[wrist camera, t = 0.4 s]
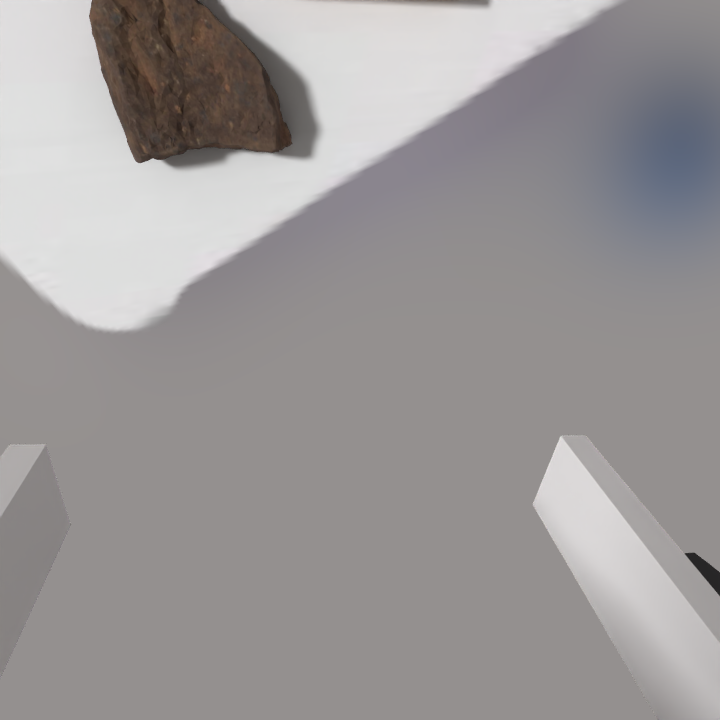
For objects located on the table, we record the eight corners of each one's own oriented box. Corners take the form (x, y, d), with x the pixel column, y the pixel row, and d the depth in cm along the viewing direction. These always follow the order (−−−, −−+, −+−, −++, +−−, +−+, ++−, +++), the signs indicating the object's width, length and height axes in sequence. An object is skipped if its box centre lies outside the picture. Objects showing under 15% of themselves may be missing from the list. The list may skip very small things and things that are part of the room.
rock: (292, 142, 33) (293, 150, 30) (142, 163, 33) (128, 173, 30) (257, -65, 27) (254, -82, 24) (73, -44, 27) (46, -59, 24)
